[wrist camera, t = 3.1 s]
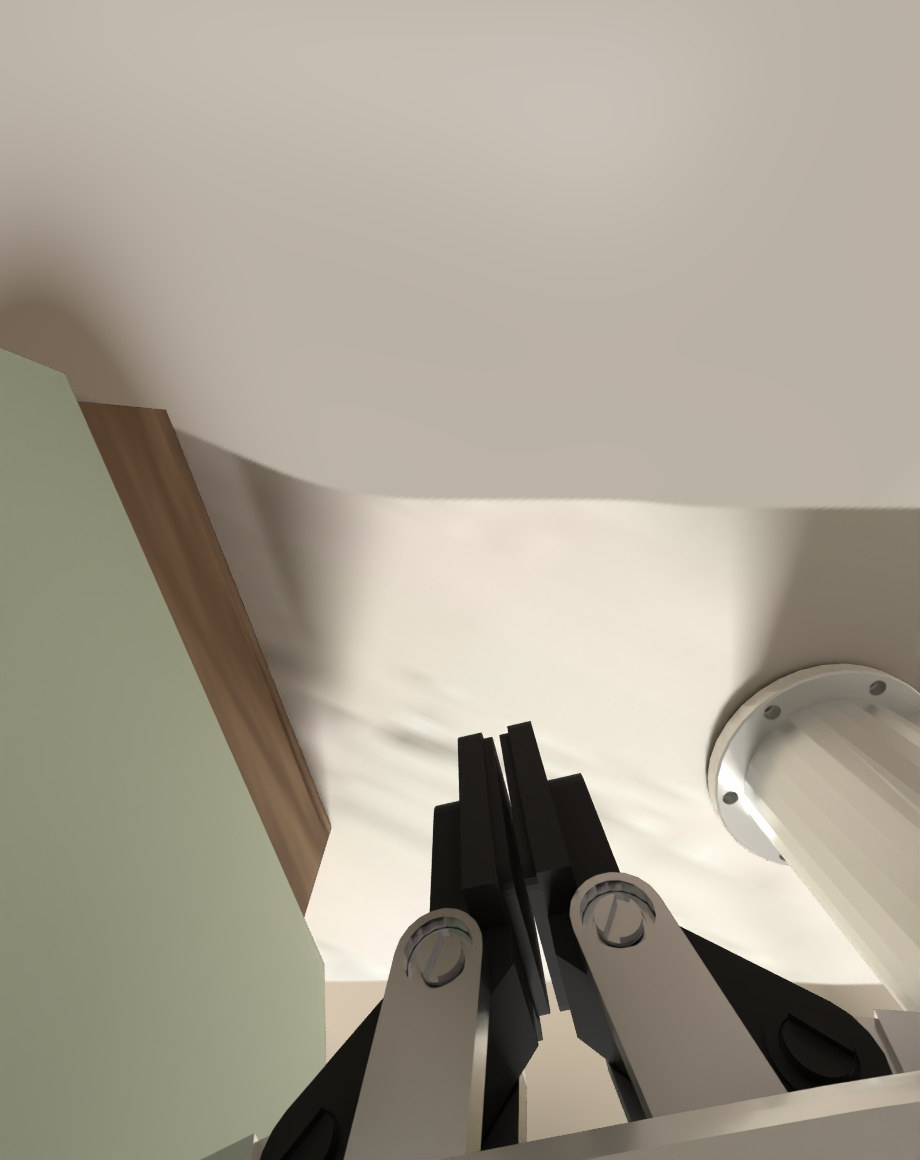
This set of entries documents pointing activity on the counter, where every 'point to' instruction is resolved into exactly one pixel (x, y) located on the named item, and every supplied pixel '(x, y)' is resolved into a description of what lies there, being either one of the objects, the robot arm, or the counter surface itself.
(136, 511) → the storage box
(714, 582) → the counter surface
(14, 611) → the lid
